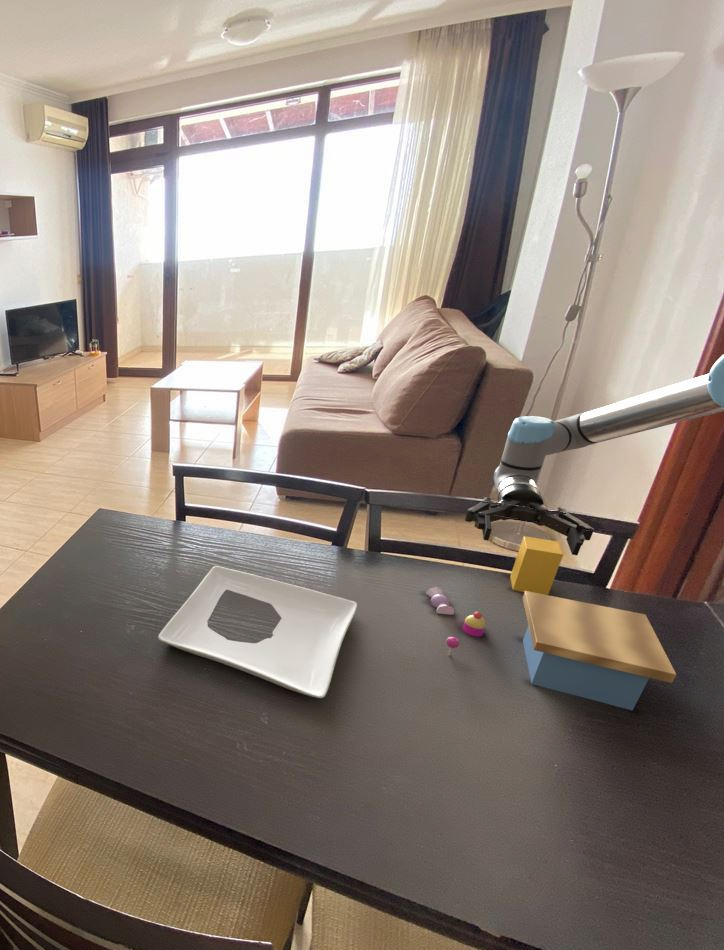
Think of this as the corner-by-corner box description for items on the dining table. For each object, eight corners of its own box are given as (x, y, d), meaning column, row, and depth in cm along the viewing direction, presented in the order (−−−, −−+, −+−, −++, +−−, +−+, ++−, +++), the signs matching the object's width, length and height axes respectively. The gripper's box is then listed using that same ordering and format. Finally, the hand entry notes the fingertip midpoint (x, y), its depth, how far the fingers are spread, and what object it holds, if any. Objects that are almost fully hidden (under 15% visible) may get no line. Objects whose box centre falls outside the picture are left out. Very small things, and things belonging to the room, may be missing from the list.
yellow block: (542, 586, 103) (558, 541, 98) (545, 600, 99) (563, 554, 95) (508, 580, 105) (523, 536, 101) (511, 594, 101) (526, 548, 97)
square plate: (355, 617, 99) (359, 599, 97) (321, 717, 79) (324, 697, 78) (213, 577, 114) (214, 561, 112) (155, 652, 95) (155, 635, 93)
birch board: (641, 622, 81) (645, 614, 80) (672, 683, 70) (676, 674, 70) (522, 598, 88) (525, 590, 87) (533, 650, 77) (536, 642, 77)
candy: (410, 597, 103) (417, 570, 100) (459, 601, 101) (467, 574, 98) (443, 662, 87) (452, 632, 85) (501, 669, 85) (512, 638, 82)
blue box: (611, 666, 84) (630, 625, 80) (630, 715, 76) (652, 672, 72) (521, 644, 89) (535, 605, 86) (529, 688, 81) (545, 647, 78)
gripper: (587, 523, 116) (610, 572, 101) (448, 503, 129) (449, 544, 113) (600, 492, 113) (625, 538, 97) (455, 475, 126) (457, 513, 110)
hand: (530, 541), depth 105 cm, fingers open, 13 cm apart
